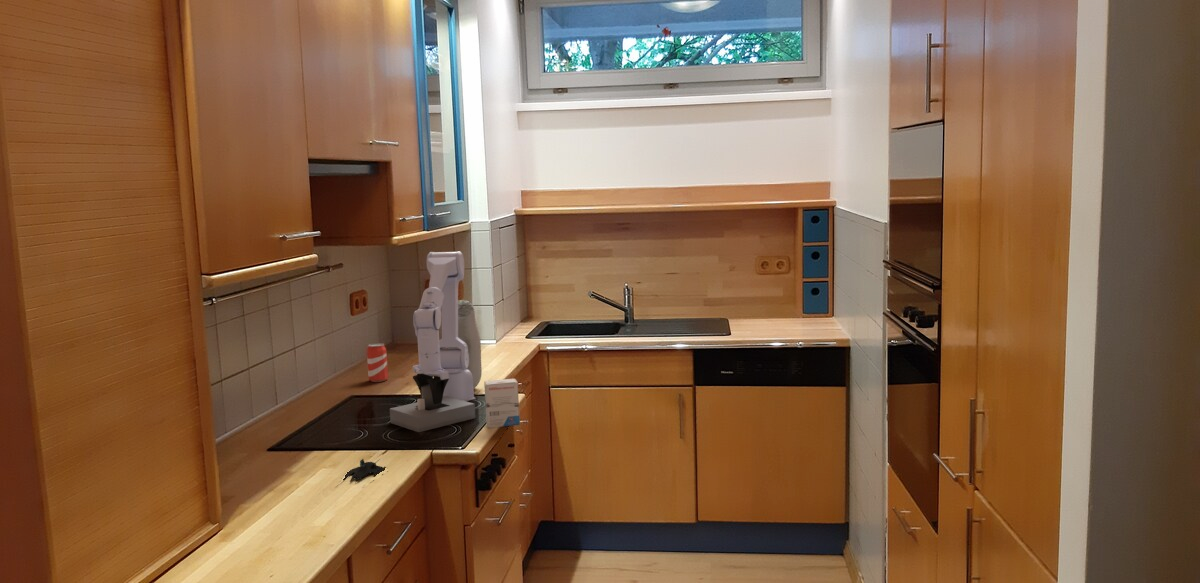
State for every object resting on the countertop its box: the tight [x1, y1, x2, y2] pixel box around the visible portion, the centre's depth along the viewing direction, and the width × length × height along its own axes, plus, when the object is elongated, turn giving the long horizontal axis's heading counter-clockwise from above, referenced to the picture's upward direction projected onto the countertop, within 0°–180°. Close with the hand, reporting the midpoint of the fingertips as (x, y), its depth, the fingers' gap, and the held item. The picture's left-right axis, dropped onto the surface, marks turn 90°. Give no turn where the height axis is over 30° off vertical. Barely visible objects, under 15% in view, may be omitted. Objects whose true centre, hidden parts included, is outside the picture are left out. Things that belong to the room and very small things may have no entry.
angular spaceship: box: [343, 458, 387, 483], centre depth 204 cm, size 11×15×3 cm
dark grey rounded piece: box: [416, 384, 441, 410], centre depth 248 cm, size 6×5×6 cm
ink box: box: [483, 378, 521, 429], centre depth 242 cm, size 9×5×12 cm, turn 101°
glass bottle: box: [446, 299, 483, 389], centre depth 282 cm, size 10×10×28 cm
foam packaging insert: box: [389, 396, 476, 433], centre depth 249 cm, size 18×14×4 cm
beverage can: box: [366, 342, 389, 383], centre depth 300 cm, size 6×6×12 cm
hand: (432, 401), depth 248 cm, fingers closed on dark grey rounded piece, 5 cm apart
